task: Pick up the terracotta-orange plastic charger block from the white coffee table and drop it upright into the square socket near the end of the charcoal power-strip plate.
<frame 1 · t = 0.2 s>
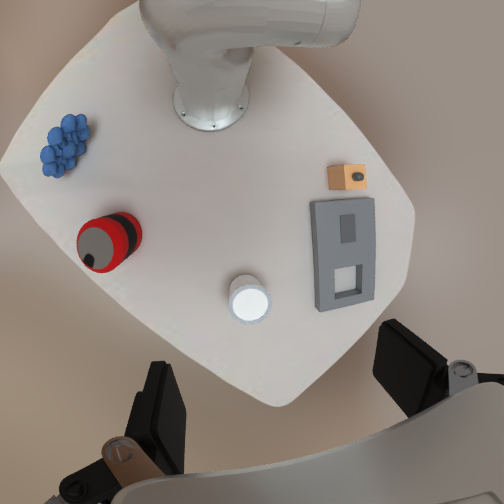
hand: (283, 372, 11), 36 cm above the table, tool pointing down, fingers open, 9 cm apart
soda can: (122, 233, 43), on the table
charger: (338, 177, 46), on the table
socket plate: (342, 252, 49), on the table
white short cylinder: (245, 289, 48), on the table
grapes: (78, 148, 38), on the table
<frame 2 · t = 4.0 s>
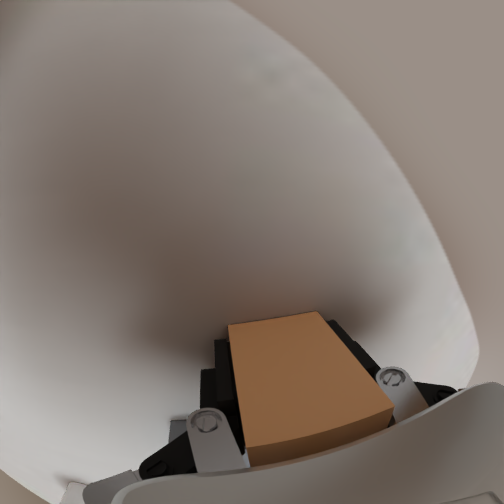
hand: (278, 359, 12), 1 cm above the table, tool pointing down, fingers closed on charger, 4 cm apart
charger: (275, 355, 12), on the table, touching gripper
socket plate: (282, 481, 15), on the table
white short cylinder: (94, 494, 14), on the table
when the fingers open (4 cm above the table, at t = 8.5 s): charger drops 3 cm, resting in socket plate.
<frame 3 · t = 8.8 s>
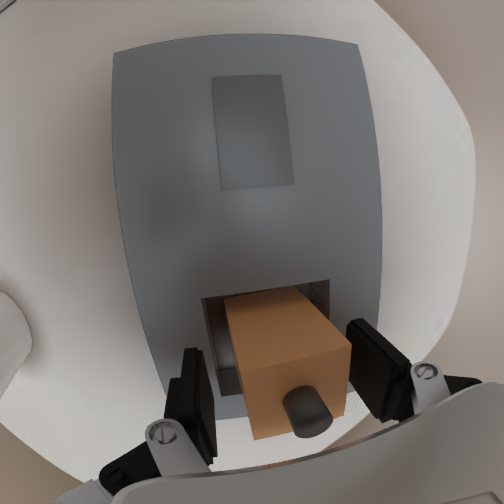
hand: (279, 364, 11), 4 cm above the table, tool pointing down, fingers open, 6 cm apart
charger: (263, 323, 15), resting in socket plate
socket plate: (255, 235, 14), on the table
white short cylinder: (7, 324, 13), on the table
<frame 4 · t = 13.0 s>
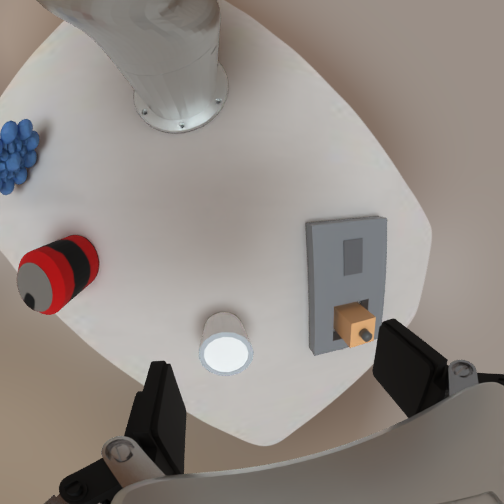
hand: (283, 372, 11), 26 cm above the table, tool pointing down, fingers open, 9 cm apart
soda can: (78, 260, 33), on the table
charger: (343, 313, 41), resting in socket plate
socket plate: (345, 284, 40), on the table
white short cylinder: (223, 328, 39), on the table
grapes: (31, 157, 29), on the table
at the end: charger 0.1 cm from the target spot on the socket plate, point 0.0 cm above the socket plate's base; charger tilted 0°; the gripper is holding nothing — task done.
